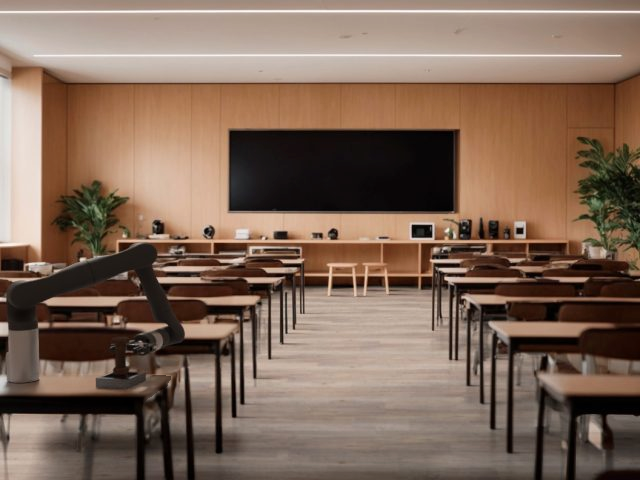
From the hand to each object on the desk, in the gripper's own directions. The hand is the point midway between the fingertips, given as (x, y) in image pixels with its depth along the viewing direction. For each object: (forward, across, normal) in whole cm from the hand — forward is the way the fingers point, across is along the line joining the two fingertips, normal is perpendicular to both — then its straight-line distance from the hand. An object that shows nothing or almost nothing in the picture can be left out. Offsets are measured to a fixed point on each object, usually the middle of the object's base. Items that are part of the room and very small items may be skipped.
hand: (122, 351), depth 229 cm
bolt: (+1, 0, +11) cm, 11 cm away
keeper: (+1, 0, +10) cm, 11 cm away
